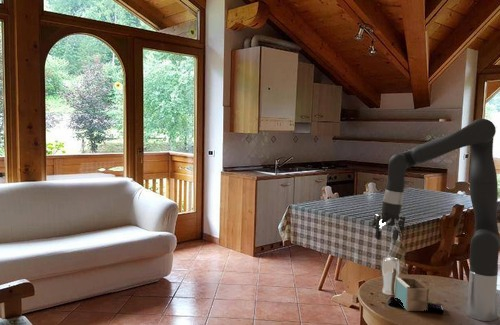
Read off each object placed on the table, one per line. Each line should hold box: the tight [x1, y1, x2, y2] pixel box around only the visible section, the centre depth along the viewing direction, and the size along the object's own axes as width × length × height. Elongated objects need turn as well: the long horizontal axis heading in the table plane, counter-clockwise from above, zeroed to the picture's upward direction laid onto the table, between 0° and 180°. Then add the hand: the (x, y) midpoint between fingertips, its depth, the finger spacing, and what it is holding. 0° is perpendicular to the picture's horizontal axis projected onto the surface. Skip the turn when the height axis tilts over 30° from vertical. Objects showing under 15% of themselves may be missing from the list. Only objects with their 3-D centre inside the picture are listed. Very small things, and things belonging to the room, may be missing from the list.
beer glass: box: [381, 256, 400, 296], centre depth 178 cm, size 7×7×15 cm
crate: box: [394, 277, 430, 312], centre depth 166 cm, size 8×12×9 cm
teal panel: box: [396, 277, 410, 311], centre depth 166 cm, size 1×10×9 cm, turn 3°
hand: (386, 239), depth 172 cm, fingers open, 8 cm apart
